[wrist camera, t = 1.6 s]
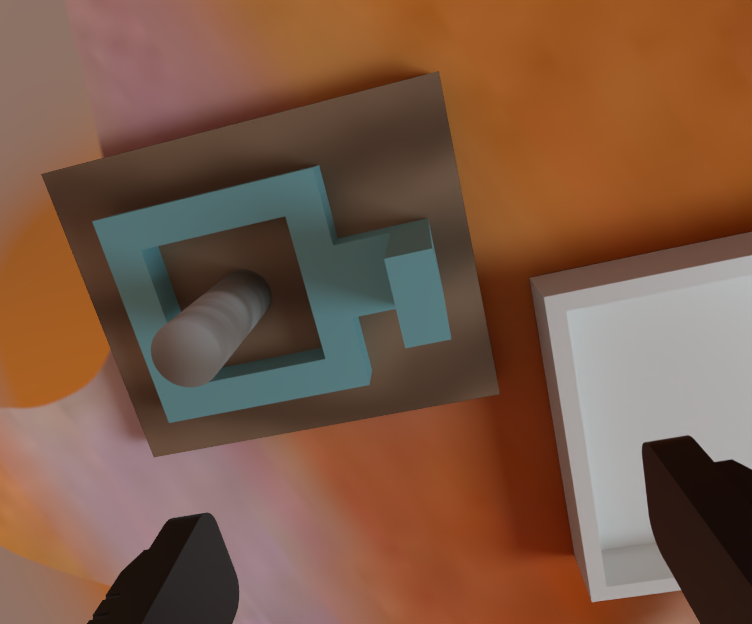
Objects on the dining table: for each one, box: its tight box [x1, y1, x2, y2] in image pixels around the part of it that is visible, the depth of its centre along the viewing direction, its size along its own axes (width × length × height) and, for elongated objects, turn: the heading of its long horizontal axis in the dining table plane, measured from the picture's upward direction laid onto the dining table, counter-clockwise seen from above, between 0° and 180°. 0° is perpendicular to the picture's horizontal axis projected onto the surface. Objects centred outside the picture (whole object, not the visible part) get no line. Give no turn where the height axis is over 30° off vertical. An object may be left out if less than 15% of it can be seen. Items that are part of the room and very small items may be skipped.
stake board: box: [42, 71, 500, 457], centre depth 29 cm, size 18×22×11 cm
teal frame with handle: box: [92, 165, 451, 423], centre depth 29 cm, size 12×17×8 cm
